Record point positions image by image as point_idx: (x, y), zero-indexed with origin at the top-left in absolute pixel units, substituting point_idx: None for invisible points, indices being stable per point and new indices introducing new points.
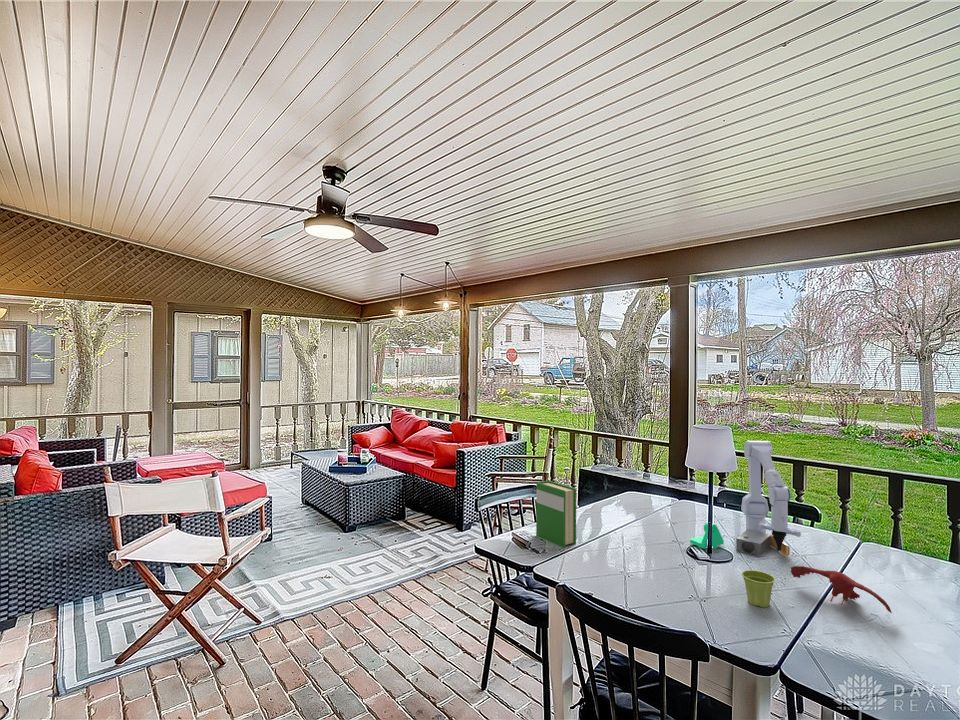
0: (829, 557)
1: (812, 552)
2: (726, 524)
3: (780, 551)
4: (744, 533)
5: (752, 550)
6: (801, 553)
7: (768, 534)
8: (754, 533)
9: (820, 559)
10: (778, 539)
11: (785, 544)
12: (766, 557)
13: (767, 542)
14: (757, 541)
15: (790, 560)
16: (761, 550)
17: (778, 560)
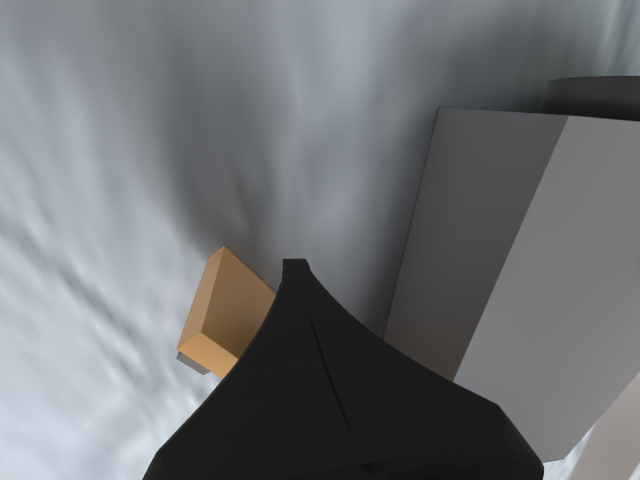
0: (8, 464)
1: (136, 461)
2: (553, 470)
3: None
4: (631, 368)
5: (557, 82)
6: (178, 407)
7: None
8: (538, 423)
9: (17, 399)
10: (314, 355)
11: (227, 365)
12: (384, 118)
13: None
14: (579, 214)
15: (174, 204)
16: (460, 156)
17: (266, 108)
